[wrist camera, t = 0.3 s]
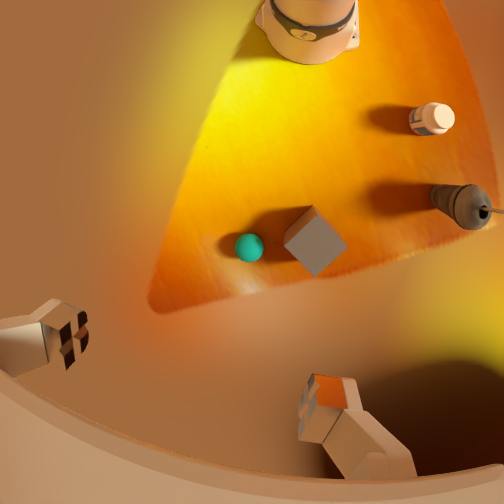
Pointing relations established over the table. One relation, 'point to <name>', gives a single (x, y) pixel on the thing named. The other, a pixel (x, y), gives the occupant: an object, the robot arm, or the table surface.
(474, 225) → the beverage cup
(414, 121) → the pill bottle
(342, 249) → the matte grey cube
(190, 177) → the table surface
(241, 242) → the ball
